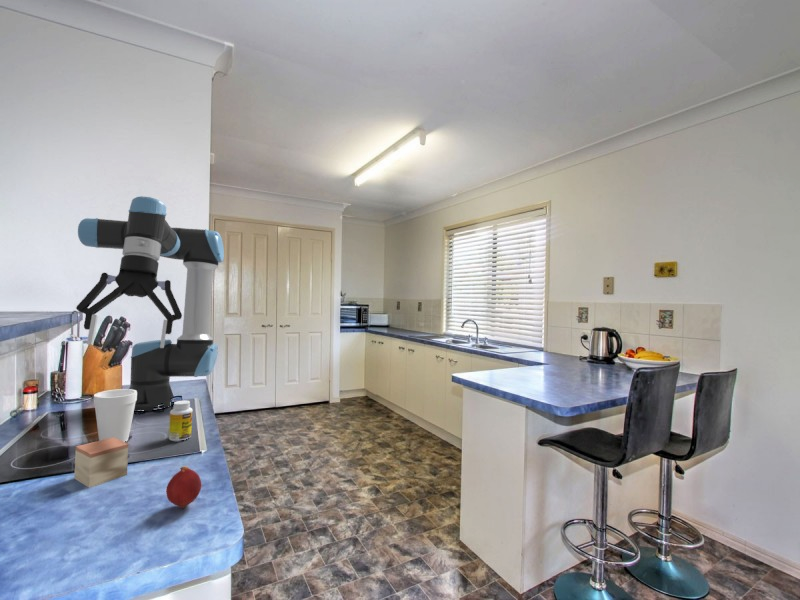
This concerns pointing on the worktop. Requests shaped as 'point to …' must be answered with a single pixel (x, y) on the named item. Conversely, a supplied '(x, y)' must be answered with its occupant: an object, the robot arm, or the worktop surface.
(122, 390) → the foam cup
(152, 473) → the worktop surface
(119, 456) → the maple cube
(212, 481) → the worktop surface
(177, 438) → the supplement bottle
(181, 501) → the onion
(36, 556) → the worktop surface
